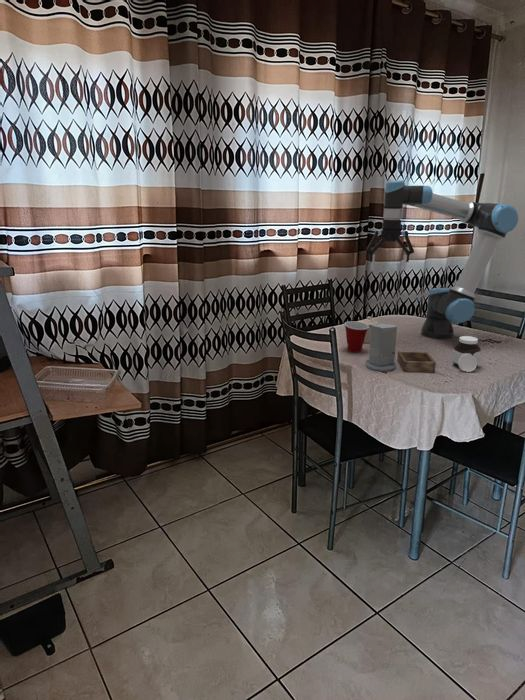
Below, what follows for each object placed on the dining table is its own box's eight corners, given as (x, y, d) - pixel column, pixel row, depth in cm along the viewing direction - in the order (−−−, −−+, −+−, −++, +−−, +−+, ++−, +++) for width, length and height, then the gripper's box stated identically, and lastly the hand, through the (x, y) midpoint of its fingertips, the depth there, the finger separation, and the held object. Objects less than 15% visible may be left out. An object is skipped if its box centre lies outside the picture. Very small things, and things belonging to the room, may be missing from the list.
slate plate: (392, 361, 203) (393, 358, 203) (398, 371, 192) (398, 368, 191) (363, 360, 204) (363, 358, 203) (367, 371, 192) (367, 368, 192)
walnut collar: (426, 361, 203) (427, 352, 202) (434, 372, 191) (435, 362, 190) (397, 360, 204) (398, 351, 203) (403, 371, 192) (404, 361, 191)
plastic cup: (362, 355, 210) (364, 328, 206) (338, 351, 215) (340, 325, 212) (371, 349, 219) (373, 323, 215) (348, 345, 224) (350, 319, 220)
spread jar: (468, 361, 203) (472, 334, 200) (488, 370, 193) (492, 342, 190) (444, 364, 200) (447, 337, 196) (463, 374, 190) (467, 345, 186)
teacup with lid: (377, 338, 234) (379, 315, 231) (377, 344, 226) (379, 319, 222) (351, 337, 236) (353, 313, 233) (351, 342, 228) (352, 318, 224)
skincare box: (378, 367, 193) (382, 328, 188) (367, 362, 199) (370, 324, 194) (395, 364, 196) (399, 326, 192) (383, 358, 202) (386, 321, 198)
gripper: (420, 218, 209) (415, 268, 216) (361, 218, 211) (358, 267, 217) (424, 219, 202) (419, 271, 209) (363, 219, 204) (360, 270, 210)
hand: (388, 269), depth 213 cm, fingers open, 13 cm apart
